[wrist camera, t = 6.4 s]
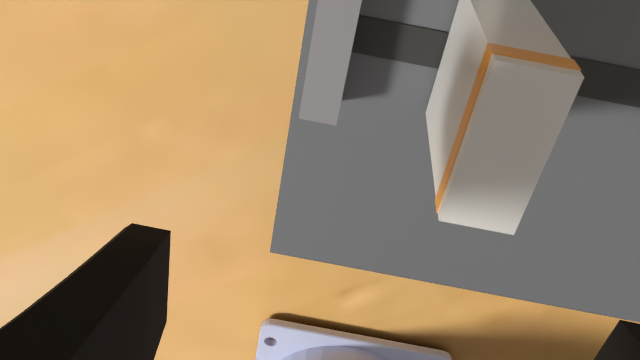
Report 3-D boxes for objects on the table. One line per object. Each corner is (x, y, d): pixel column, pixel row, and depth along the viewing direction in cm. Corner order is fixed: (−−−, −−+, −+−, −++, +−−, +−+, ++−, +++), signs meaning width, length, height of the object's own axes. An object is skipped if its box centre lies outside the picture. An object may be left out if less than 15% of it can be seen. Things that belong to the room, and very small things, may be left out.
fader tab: (482, 124, 17) (514, 236, 12) (424, 113, 17) (437, 221, 12) (528, -5, 15) (586, 76, 10) (463, -18, 15) (494, 58, 10)
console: (705, 298, 22) (754, 375, 19) (278, 217, 22) (262, 282, 19) (1083, -218, 13) (1284, -221, 10) (370, -362, 13) (366, -407, 10)
